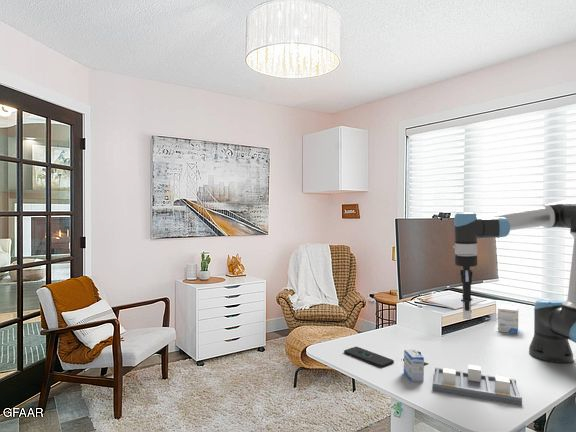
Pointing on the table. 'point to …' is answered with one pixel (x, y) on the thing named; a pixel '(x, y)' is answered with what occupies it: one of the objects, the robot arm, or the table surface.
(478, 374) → the white cube
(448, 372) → the white cube
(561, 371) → the table surface
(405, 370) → the medicine box
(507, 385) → the white cube
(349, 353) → the smart home device
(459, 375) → the gray divided tray
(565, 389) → the table surface
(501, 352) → the table surface
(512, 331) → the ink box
